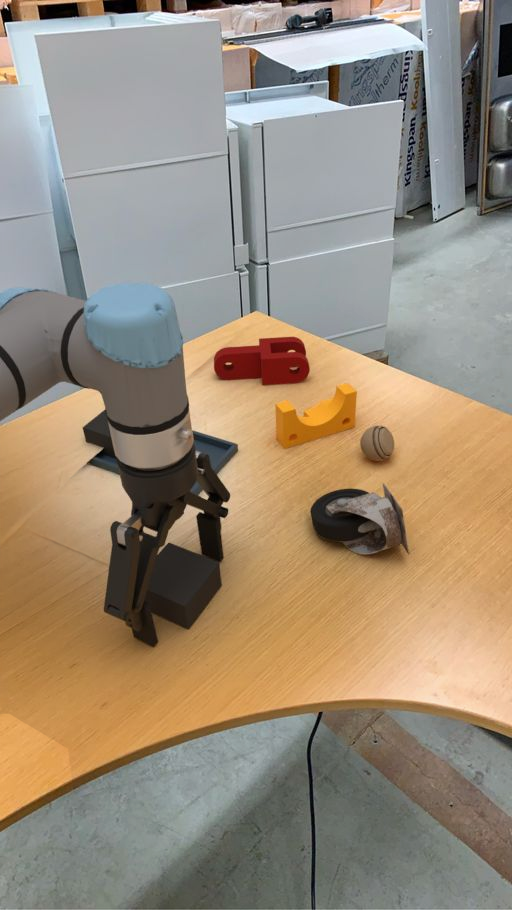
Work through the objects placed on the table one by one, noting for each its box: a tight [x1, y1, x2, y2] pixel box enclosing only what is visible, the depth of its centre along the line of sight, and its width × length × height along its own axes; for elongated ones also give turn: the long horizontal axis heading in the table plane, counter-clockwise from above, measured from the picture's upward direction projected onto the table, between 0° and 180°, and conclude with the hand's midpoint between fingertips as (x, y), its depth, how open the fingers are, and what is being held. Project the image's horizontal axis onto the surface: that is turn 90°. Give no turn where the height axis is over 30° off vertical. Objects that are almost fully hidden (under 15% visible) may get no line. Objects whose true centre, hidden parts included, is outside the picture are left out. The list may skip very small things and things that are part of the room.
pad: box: [82, 409, 117, 459], centre depth 97 cm, size 7×7×4 cm
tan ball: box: [359, 425, 395, 462], centre depth 92 cm, size 5×5×5 cm
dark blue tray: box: [86, 429, 239, 496], centre depth 95 cm, size 21×12×2 cm, turn 61°
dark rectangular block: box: [144, 542, 223, 631], centre depth 74 cm, size 7×7×4 cm
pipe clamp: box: [274, 382, 358, 450], centre depth 98 cm, size 12×4×6 cm, turn 114°
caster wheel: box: [309, 482, 410, 555], centre depth 80 cm, size 7×11×10 cm
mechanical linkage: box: [213, 336, 311, 386], centre depth 112 cm, size 16×7×5 cm, turn 93°
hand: (181, 595), depth 75 cm, fingers open, 13 cm apart
